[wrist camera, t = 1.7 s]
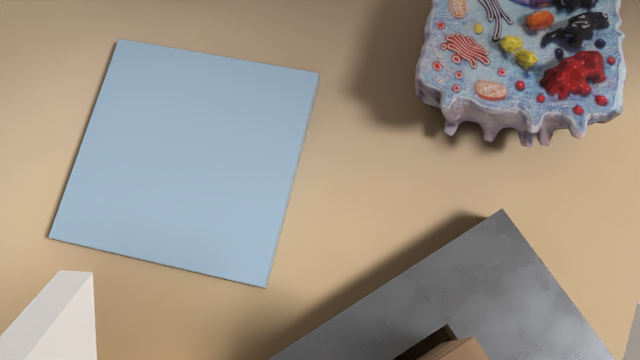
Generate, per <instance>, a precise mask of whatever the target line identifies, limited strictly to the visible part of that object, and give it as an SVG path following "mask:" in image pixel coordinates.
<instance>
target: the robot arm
mask: <svg viewBox="0 0 640 360" xmlns="http://www.w3.org/2000/svg"><path fill="white" fill-rule="evenodd" d="M0 360H97V352H96V331H95V310H94V289H93V272H82V271H64V270H60V271H59V272H58V273H57V274H56V275H55V276H54V277H53V278H52V279H51V281H50V282H49V283H48V284H47V285H46V286H45V287H44V288H43V289H42V291H41V292H40V293H39V294H38V295H37V296H36V297H35V298H34V299H33V301H32V302H31V303H30V304H29V305H28V306H27V307H26V308H25V309H24V311H23V312H22V313H21V314H20V315H19V316H18V317H17V318H16V319H15V321H14V322H13V323H12V324H11V325H10V326H9V327H8V328H7V329H6V331H5V332H4V333H3V334H2V335H1V336H0ZM623 360H640V302H638V303H637V307H636V311H635V315H634V319H633V323H632V327H631V330H630V334H629V338H628V342H627V346H626V350H625V354H624V358H623Z"/></svg>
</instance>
